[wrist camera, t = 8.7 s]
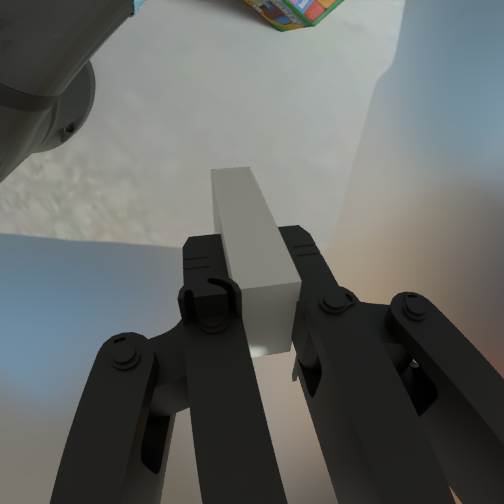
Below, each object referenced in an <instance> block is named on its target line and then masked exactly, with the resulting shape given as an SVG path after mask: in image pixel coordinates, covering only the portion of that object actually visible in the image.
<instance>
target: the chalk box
mask: <svg viewBox="0 0 504 504" xmlns="http://www.w3.org/2000/svg"><path fill="white" fill-rule="evenodd" d="M244 1H245V2H246V3H248V4H249V5H250V6H251V7H252V8H254V9H255V10H256V11H257V12H258V13H259V14H261V15H262V16H263V17H264V18H265V19H267V20H268V21H269V22H270V23H271V24H272V25H273V26H275V27H276V28H277V29H278V30H279V31H281V32H284V31H289V30H294V29H299V28H306V27H314V26H316V25H317V24H318V23H319V22H320V21H321V20H322V19H323V18H325V17H326V16H327V15H328V14H329V13H330V12H331V11H333V10H334V9H335V8H336V7H337V6H338V5H340V4H341V3H342V2H343V1H344V0H244Z"/></svg>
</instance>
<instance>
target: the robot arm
mask: <svg viewBox="0 0 504 504" xmlns="http://www.w3.org/2000/svg"><path fill="white" fill-rule="evenodd" d="M145 1H146V0H0V183H1V182H2V181H3V180H4V179H5V178H6V177H7V176H8V175H9V174H10V173H11V172H12V171H13V170H14V169H15V168H16V167H17V166H19V165H20V164H21V163H22V162H23V161H24V160H25V159H26V158H27V157H28V156H29V155H31V154H32V153H38V152H45V151H48V150H51V149H54V148H56V147H58V146H60V145H61V144H63V143H64V142H66V141H67V140H68V139H69V138H71V137H72V136H73V135H74V134H75V133H76V132H77V131H78V130H79V129H80V128H81V126H82V125H83V124H84V122H85V121H86V119H87V117H88V115H89V113H90V111H91V108H92V105H93V101H94V96H95V76H94V71H93V68H92V65H91V62H90V60H89V59H90V58H91V57H92V56H93V55H94V53H95V52H96V51H97V50H98V49H99V48H100V47H101V45H102V44H103V43H104V42H105V41H106V40H107V39H108V38H109V37H110V36H111V35H112V34H113V33H114V32H115V30H116V29H117V28H118V27H119V26H120V25H121V24H122V23H123V22H124V21H125V20H126V19H127V18H128V17H130V18H131V17H133V16H134V15H136V14H137V12H138V10H139V8H140V6H141V5H142V4H143V3H144V2H145ZM211 182H212V200H213V216H214V230H215V234H213V235H203V236H193V237H189V238H188V239H187V241H186V243H185V244H184V246H183V276H184V286H183V287H182V288H181V289H180V291H179V295H178V303H179V308H180V313H181V317H182V319H181V320H180V322H179V323H178V324H177V325H176V326H175V327H174V328H172V329H171V330H170V331H168V332H166V333H164V334H161V335H159V336H156V337H153V338H151V339H147V338H146V337H144V336H143V335H140V334H137V333H134V332H129V333H121V334H118V335H115V336H112V337H111V338H110V339H108V340H107V341H106V342H105V343H104V344H103V345H102V347H101V348H100V350H99V352H98V354H97V356H96V359H95V361H94V364H93V367H92V369H91V372H90V374H89V377H88V380H87V383H86V385H85V388H84V391H83V393H82V396H81V399H80V402H79V405H78V408H77V411H76V414H75V417H74V420H73V423H72V426H71V429H70V432H69V435H68V438H67V442H66V445H65V449H64V452H63V455H62V458H61V462H60V466H59V469H58V473H57V477H56V480H55V484H54V488H53V492H52V496H51V501H50V504H160V502H161V495H162V489H163V483H164V477H165V471H166V465H167V460H168V454H169V448H170V443H171V438H172V432H173V427H174V422H175V416H176V413H177V412H179V411H182V410H184V409H187V408H189V407H190V414H191V423H192V432H193V440H194V448H195V456H196V463H197V470H198V477H199V484H200V490H201V497H202V503H203V504H288V503H287V499H286V496H285V492H284V488H283V484H282V481H281V477H280V473H279V469H278V465H277V461H276V457H275V453H274V449H273V445H272V441H271V437H270V433H269V429H268V425H267V421H266V417H265V413H264V409H263V405H262V401H261V396H260V392H259V388H258V384H257V379H256V375H255V371H254V367H253V363H252V358H251V357H258V356H264V355H271V354H277V353H283V352H288V351H290V350H291V344H292V341H293V344H294V347H295V350H296V353H297V354H296V359H295V364H294V368H293V373H292V379H293V381H296V380H297V376H298V377H299V380H300V383H301V387H302V390H303V392H304V396H305V399H306V402H307V405H308V408H309V412H310V415H311V418H312V421H313V424H314V427H315V431H316V434H317V437H318V440H319V443H320V446H321V450H322V453H323V456H324V459H325V462H326V466H327V469H328V472H329V475H330V478H331V481H332V485H333V488H334V491H335V494H336V498H337V501H338V504H456V503H455V501H454V498H453V495H452V493H451V490H450V488H449V486H450V487H451V489H452V490H453V492H454V493H455V494H456V496H457V497H458V498H459V500H460V501H461V502H462V504H504V379H503V378H502V377H501V375H500V374H499V373H498V372H497V371H496V370H495V369H494V367H493V366H492V365H491V364H490V363H489V362H488V361H487V360H486V359H485V357H484V356H483V355H482V354H481V353H480V352H479V351H478V350H477V349H476V348H475V347H474V346H473V344H472V343H471V342H470V341H469V340H468V339H467V338H466V337H465V336H464V335H463V334H462V333H461V332H460V331H459V330H458V329H457V328H456V327H455V326H454V325H453V324H452V323H451V322H450V321H449V319H447V317H445V316H444V315H443V313H442V312H440V310H439V309H438V308H437V307H436V306H435V305H433V304H432V303H431V302H430V301H429V300H428V299H427V298H425V297H424V296H422V295H419V294H417V293H414V292H402V293H398V294H397V295H396V296H394V297H393V299H392V301H391V304H390V305H384V304H372V303H365V302H360V301H359V299H358V298H357V297H356V296H355V295H354V294H353V292H351V291H349V290H348V289H346V288H344V287H340V286H339V285H338V283H337V282H336V280H335V278H334V276H333V274H332V272H331V271H330V269H329V267H328V265H327V263H326V262H325V260H324V258H323V256H322V254H320V251H319V249H318V247H317V246H316V244H315V242H314V240H313V238H312V237H311V235H310V233H308V232H307V231H306V230H304V229H303V228H302V227H300V226H299V225H295V226H284V227H277V225H276V223H275V221H274V219H273V216H272V214H271V212H270V210H269V208H268V205H267V203H266V201H265V199H264V197H263V195H262V193H261V190H260V188H259V186H258V184H257V182H256V180H255V178H254V175H253V173H252V171H251V169H250V167H239V168H225V169H213V170H211ZM413 359H414V360H415V361H416V362H417V363H415V362H414V361H413Z"/></svg>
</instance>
